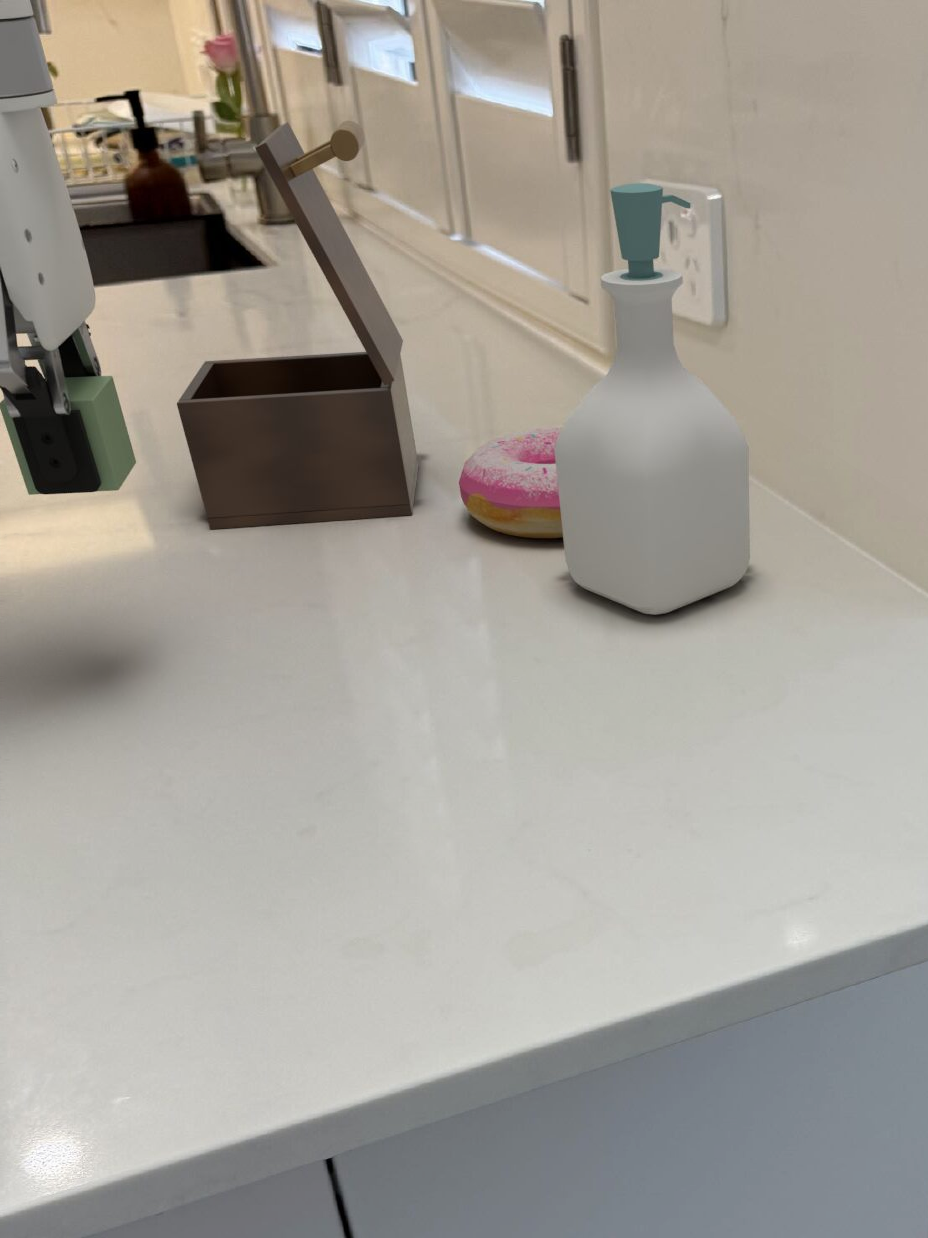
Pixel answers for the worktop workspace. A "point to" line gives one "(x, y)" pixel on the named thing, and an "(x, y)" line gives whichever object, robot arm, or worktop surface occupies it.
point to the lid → (333, 236)
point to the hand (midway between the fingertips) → (81, 471)
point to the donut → (515, 484)
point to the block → (91, 431)
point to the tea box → (299, 440)
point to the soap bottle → (651, 448)
